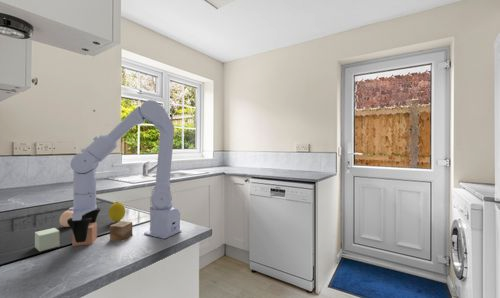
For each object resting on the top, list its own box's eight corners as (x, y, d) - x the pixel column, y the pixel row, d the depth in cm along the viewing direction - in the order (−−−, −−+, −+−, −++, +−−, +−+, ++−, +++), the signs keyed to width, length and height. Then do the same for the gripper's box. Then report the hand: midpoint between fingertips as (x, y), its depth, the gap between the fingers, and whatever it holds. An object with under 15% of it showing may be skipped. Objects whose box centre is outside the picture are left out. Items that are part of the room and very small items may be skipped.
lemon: (118, 225, 87) (117, 203, 87) (105, 224, 88) (105, 202, 88) (128, 220, 92) (128, 200, 92) (116, 219, 94) (116, 199, 93)
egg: (57, 226, 85) (57, 210, 85) (75, 223, 89) (75, 207, 89) (61, 230, 82) (61, 213, 81) (78, 226, 85) (78, 210, 85)
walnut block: (132, 235, 77) (132, 222, 77) (122, 241, 73) (122, 226, 73) (120, 234, 78) (120, 221, 78) (109, 240, 74) (109, 225, 74)
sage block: (59, 246, 69) (59, 231, 69) (39, 251, 66) (39, 235, 65) (54, 242, 72) (54, 227, 72) (35, 247, 68) (34, 232, 68)
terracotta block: (96, 237, 76) (96, 222, 75) (92, 244, 71) (92, 227, 71) (78, 239, 74) (78, 223, 74) (72, 246, 69) (72, 229, 69)
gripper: (78, 189, 78) (78, 230, 78) (58, 198, 64) (59, 248, 64) (102, 188, 80) (102, 227, 80) (89, 197, 66) (89, 245, 67)
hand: (85, 236), depth 72 cm, fingers open, 7 cm apart
